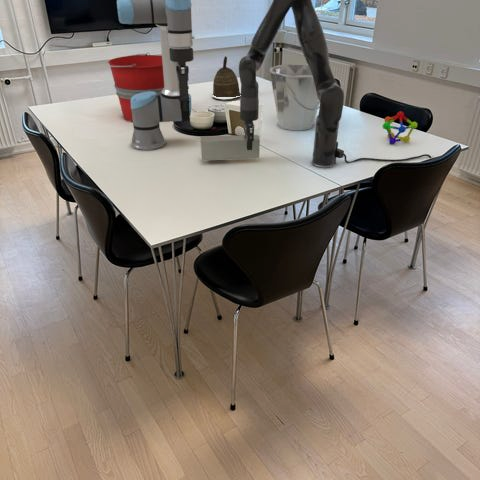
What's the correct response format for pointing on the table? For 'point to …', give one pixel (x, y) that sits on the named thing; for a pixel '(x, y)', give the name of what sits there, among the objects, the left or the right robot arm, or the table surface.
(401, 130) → the educational toy
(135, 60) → the bucket
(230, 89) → the bell
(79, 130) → the table surface
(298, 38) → the right robot arm
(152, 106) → the left robot arm
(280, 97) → the bucket
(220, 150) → the bar
